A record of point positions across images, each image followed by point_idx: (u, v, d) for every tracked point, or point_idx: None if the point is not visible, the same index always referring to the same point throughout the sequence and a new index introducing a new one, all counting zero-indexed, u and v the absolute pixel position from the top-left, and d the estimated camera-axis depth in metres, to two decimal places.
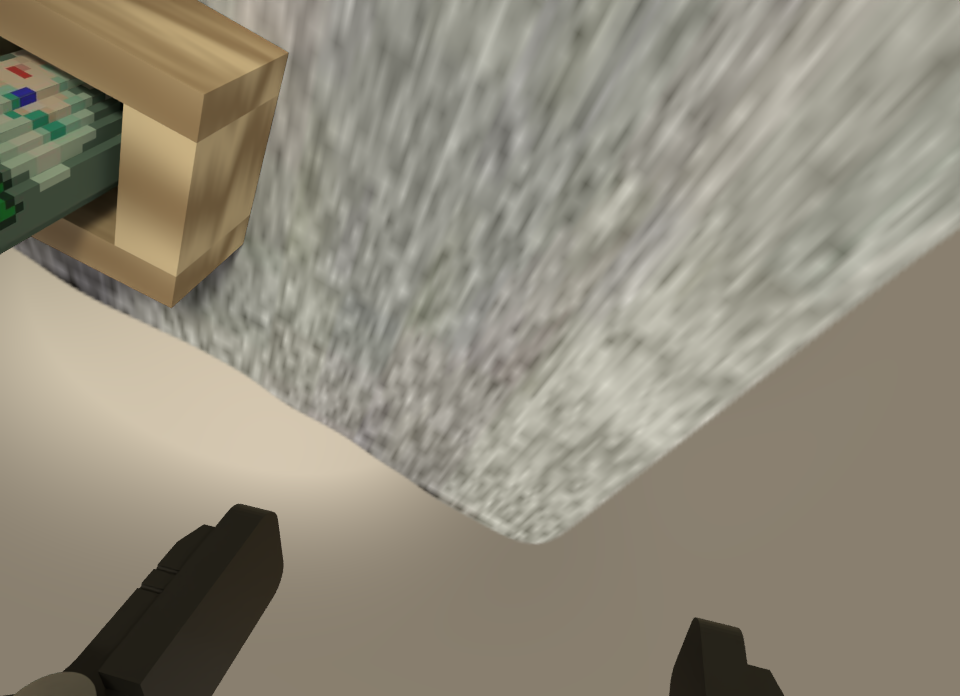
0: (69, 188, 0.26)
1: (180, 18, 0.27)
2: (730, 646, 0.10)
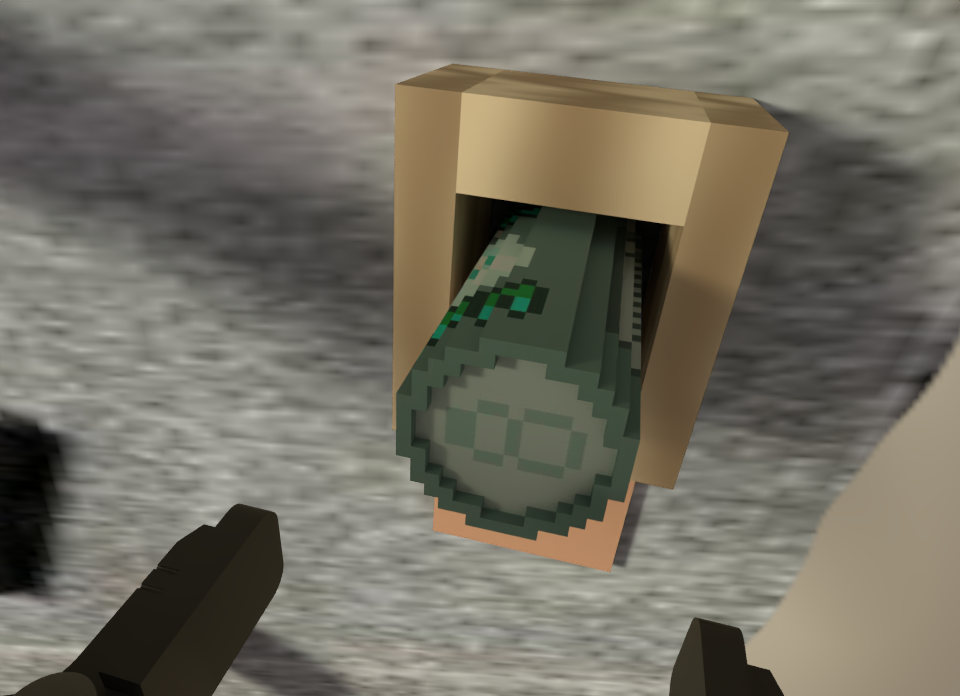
0: (553, 251, 0.19)
1: None
2: (730, 646, 0.10)
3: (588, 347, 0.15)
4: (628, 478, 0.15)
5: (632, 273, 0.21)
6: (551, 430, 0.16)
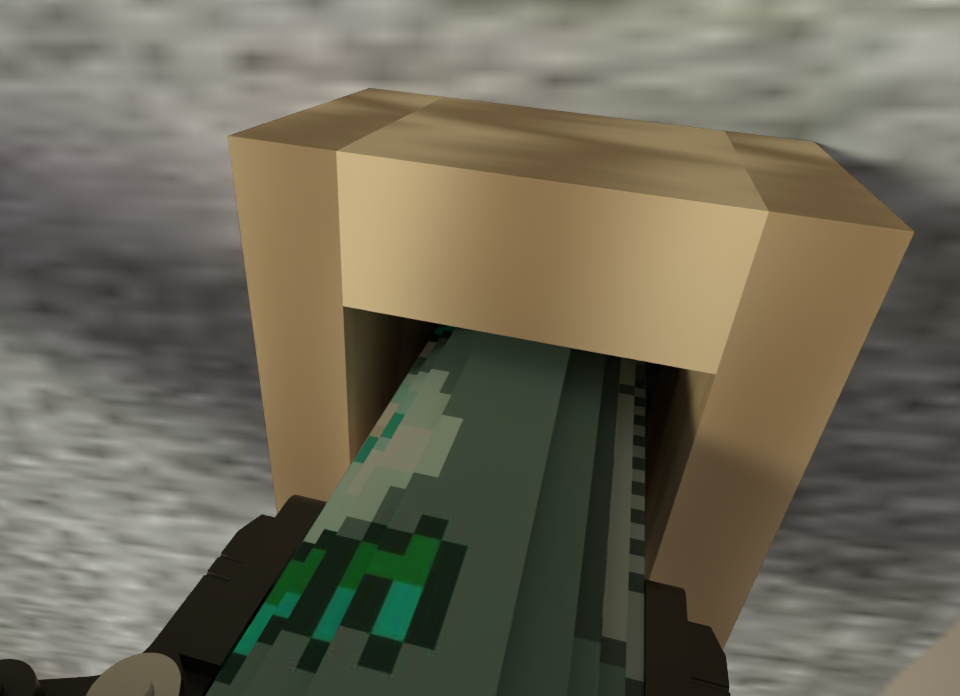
0: (492, 425, 0.11)
1: None
2: (673, 603, 0.10)
3: None
4: None
5: (630, 434, 0.13)
6: None
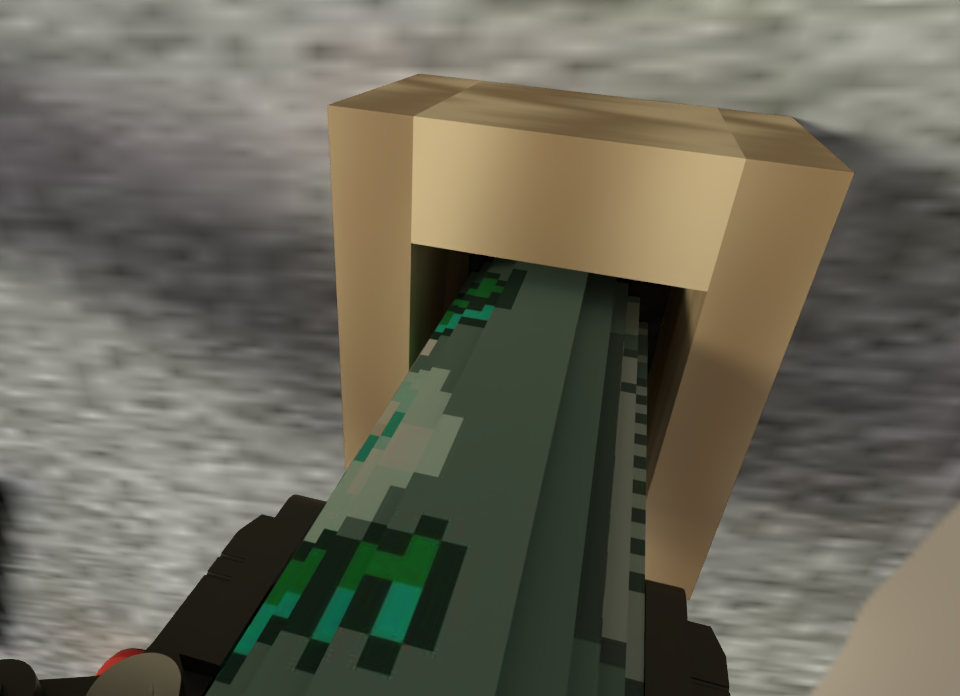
0: (493, 424, 0.11)
1: None
2: (673, 603, 0.10)
3: None
4: None
5: (631, 433, 0.13)
6: None
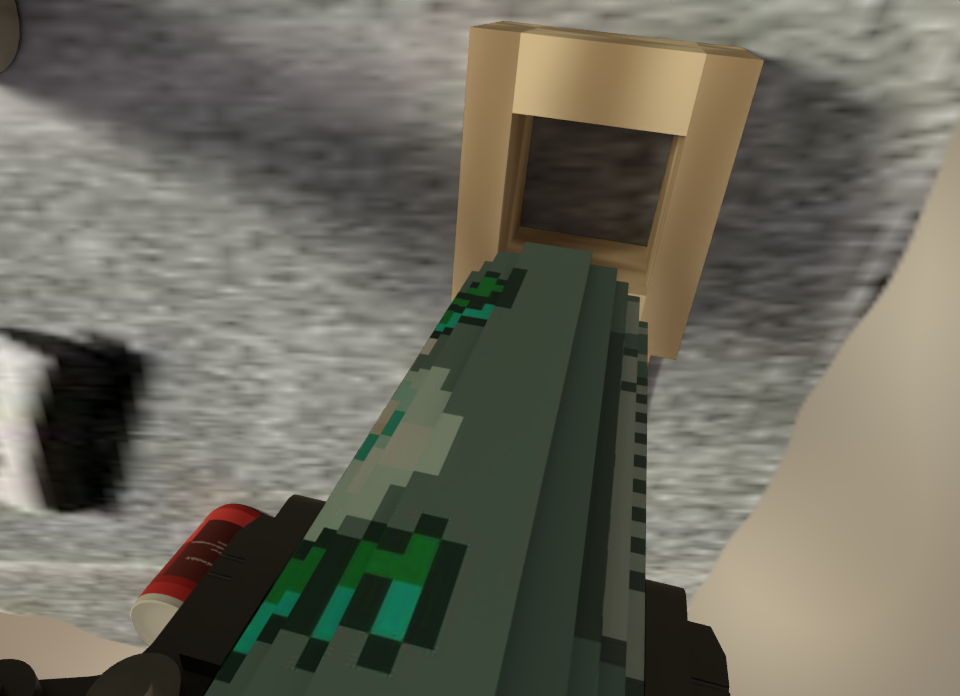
0: (493, 423, 0.11)
1: None
2: (673, 603, 0.10)
3: None
4: None
5: (632, 432, 0.13)
6: None
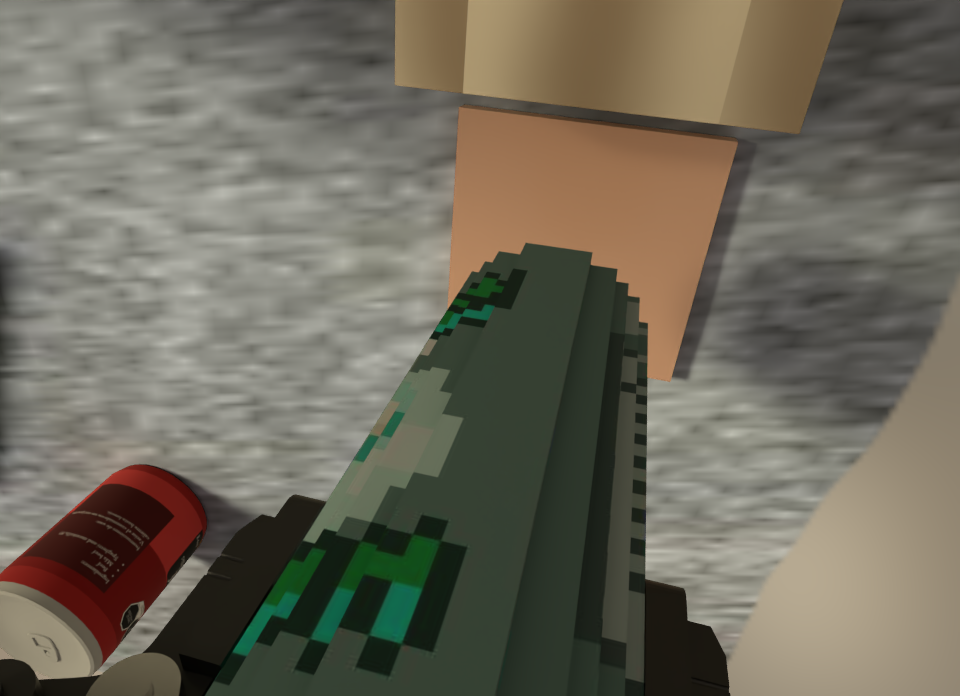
0: (493, 425, 0.11)
1: None
2: (673, 603, 0.10)
3: None
4: None
5: (632, 433, 0.13)
6: None
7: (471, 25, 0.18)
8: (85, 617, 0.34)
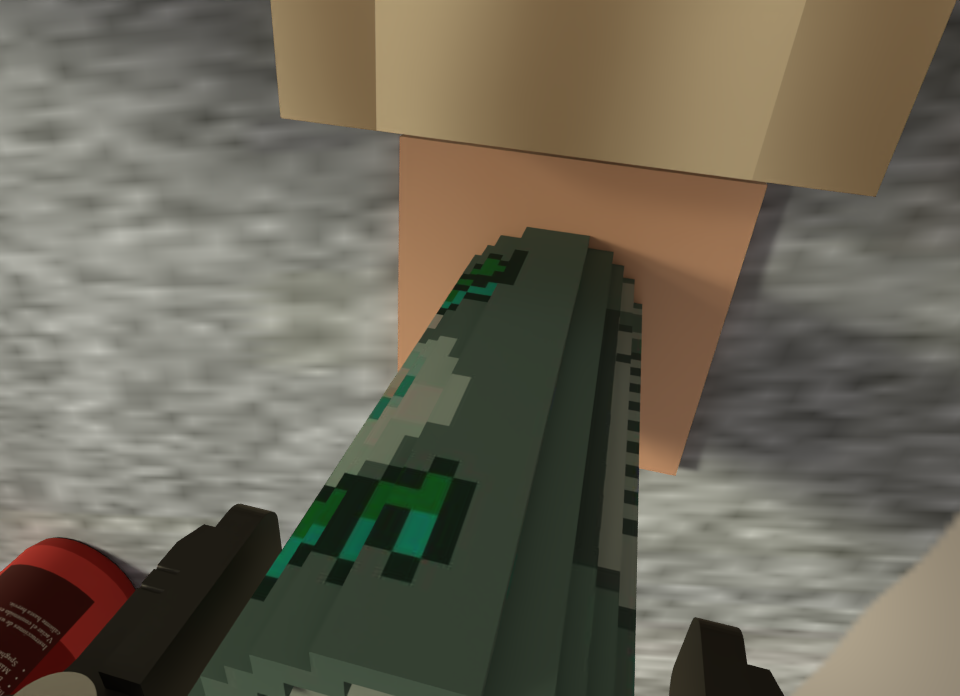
0: (498, 383, 0.12)
1: None
2: (730, 646, 0.10)
3: (532, 641, 0.08)
4: None
5: (626, 398, 0.14)
6: None
7: (382, 32, 0.12)
8: None
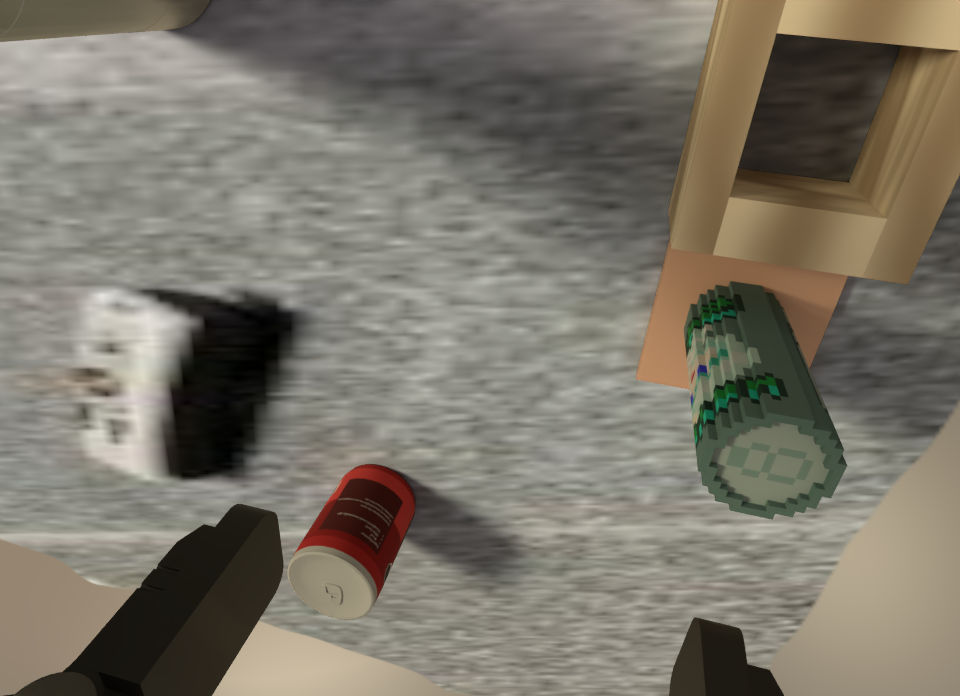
0: (767, 350, 0.33)
1: (713, 41, 0.33)
2: (730, 646, 0.10)
3: (816, 416, 0.28)
4: (836, 485, 0.29)
5: (804, 358, 0.35)
6: (792, 459, 0.29)
7: (724, 222, 0.33)
8: (371, 571, 0.49)
